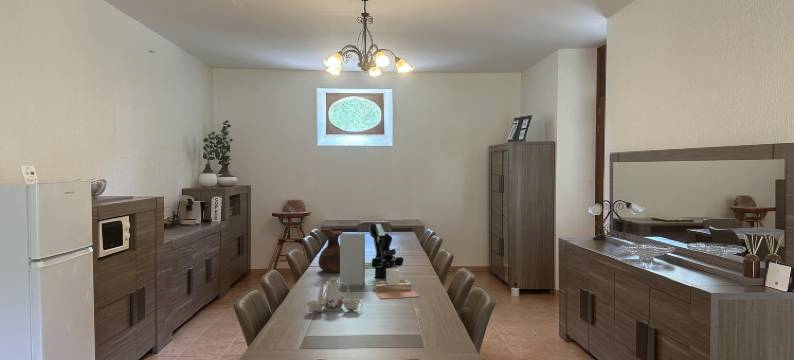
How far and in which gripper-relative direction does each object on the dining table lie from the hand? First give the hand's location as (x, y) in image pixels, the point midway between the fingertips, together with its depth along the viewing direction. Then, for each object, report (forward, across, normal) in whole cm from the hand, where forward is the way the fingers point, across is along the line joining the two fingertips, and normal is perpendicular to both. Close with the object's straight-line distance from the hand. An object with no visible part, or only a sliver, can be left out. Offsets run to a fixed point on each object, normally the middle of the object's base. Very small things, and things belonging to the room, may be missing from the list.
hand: (389, 273), depth 296 cm
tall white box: (-4, -20, +15) cm, 25 cm away
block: (+8, 0, -3) cm, 9 cm away
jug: (-31, -27, +42) cm, 59 cm away
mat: (+19, 0, -8) cm, 20 cm away
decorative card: (-38, +8, +50) cm, 64 cm away
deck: (+10, 0, +1) cm, 10 cm away
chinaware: (+34, -38, -23) cm, 56 cm away
